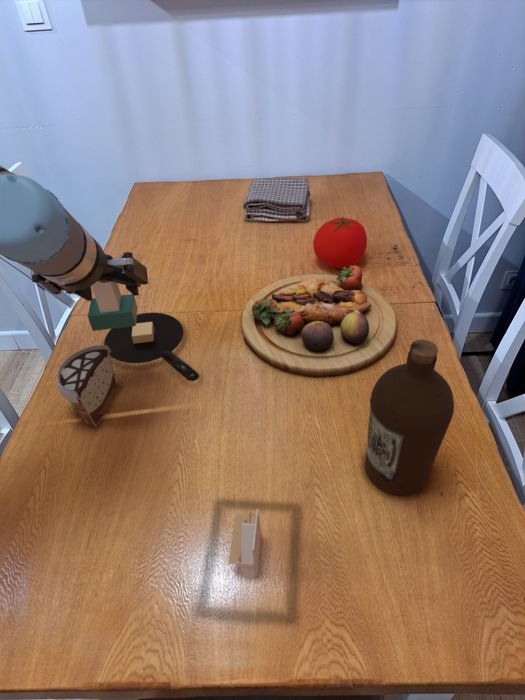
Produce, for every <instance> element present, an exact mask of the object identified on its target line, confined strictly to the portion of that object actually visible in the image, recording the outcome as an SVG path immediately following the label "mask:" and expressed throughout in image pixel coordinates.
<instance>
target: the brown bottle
mask: <svg viewBox="0 0 525 700" xmlns="http://www.w3.org/2000/svg"><path fill="white" fill-rule="evenodd" d="M438 353H439V348H438V346H437V344H436V343H434V341H433V342H432V341H431V340H428V339H416V340H414V341H412V343H411V344H410V347H409V351H408V353H407V357H406V362H405V363H402V364H399V365H395V366H393V367H391V368H389V369H388V370H386V371H384V372H383V373H382V374H381V375H380V377H379V378H378V379H377V381H376V382H375V384H374V386H373V388H372V390H371V394H370V397H369V413H368V414H369V415H368V428H367V429H368V430H367V440H366V451H365V461H364V470H365V474H366V476H367V479H369V481H370V483H371V484H372V485H373V486H374V487H375V488H376V489H378V490H380V491H381V492H383V493H385V494H388V495H390V496H395V497H408V496H412V495H414V494H417V493H419V492H420V491H421V490H423V488H425V485H426V483H427V482H428V479H429V477H430V474H431V470H432V469H433V466H434V463H435V460H436V458H437V455H438V453H439V450H440V448H441V445H442V443H443V440H444V438H445V436H446V434H447V431H448V429H449V426H450V425H451V421H452V420H453V416H454V412H455V399H454V395H453V390H452V388H451V386H450V385H449V382H448V381H447V380H446V378H444V377H443V376H442V374H440V373H439V372H438V371H436V370H435V367H436V363H437V360H438V357H437V356H438Z"/></svg>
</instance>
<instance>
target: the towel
mask: <svg viewBox="0 0 525 700" xmlns="http://www.w3.org/2000/svg"><path fill="white" fill-rule="evenodd" d="M310 198H311V192H310V186H309V179H308V178H307V177H290V178H289V177H285V178H284V177H259V178H255V179H254V180H253V181H251V183H250V184H249V186H248V191H247V194H246V196H245V198H244V202H243V204H242V208H243V209H244V210H245V211H244V216H243V219H244V221H248V222H253V223H255V222H256V223H267V222H269V223H276V222H296V223H297V222H298V223H299V222H300V223H306V222H308V220H309V218H310V210H311V201H310Z"/></svg>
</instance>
